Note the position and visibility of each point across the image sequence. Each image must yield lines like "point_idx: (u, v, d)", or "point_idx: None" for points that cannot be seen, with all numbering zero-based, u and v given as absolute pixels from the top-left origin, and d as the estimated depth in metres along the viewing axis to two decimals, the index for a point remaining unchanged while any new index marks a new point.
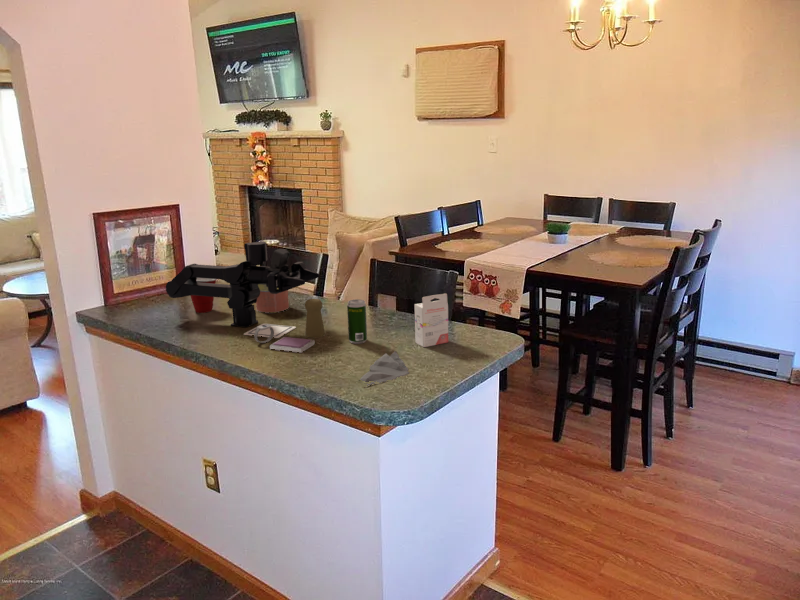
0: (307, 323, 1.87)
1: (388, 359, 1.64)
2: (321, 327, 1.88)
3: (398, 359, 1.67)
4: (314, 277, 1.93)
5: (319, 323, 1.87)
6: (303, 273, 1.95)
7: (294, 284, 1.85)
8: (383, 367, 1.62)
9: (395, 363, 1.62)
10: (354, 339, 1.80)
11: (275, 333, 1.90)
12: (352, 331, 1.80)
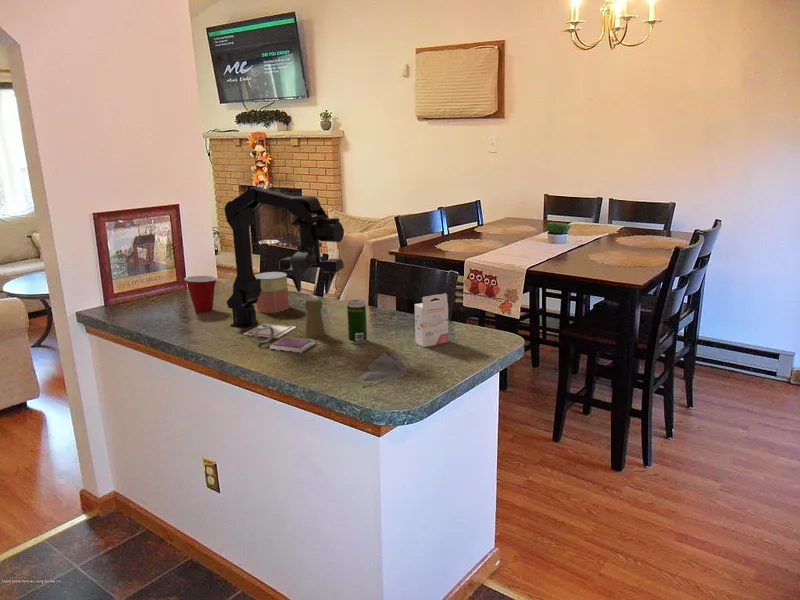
0: (307, 323, 1.87)
1: (387, 359, 1.64)
2: (321, 327, 1.88)
3: (397, 359, 1.67)
4: None
5: (319, 323, 1.87)
6: None
7: None
8: (382, 367, 1.62)
9: (394, 363, 1.62)
10: (354, 339, 1.80)
11: (275, 333, 1.90)
12: (352, 331, 1.80)
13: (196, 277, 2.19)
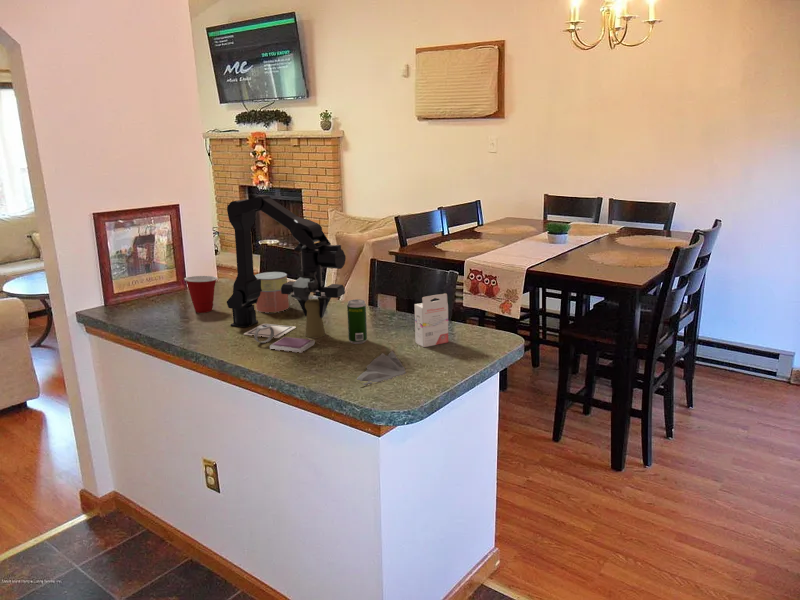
0: (307, 323, 1.87)
1: (385, 359, 1.65)
2: (321, 327, 1.88)
3: (395, 359, 1.67)
4: None
5: (319, 323, 1.87)
6: None
7: None
8: (380, 367, 1.62)
9: (392, 363, 1.62)
10: (354, 339, 1.80)
11: (275, 333, 1.90)
12: (352, 331, 1.80)
13: (196, 277, 2.19)
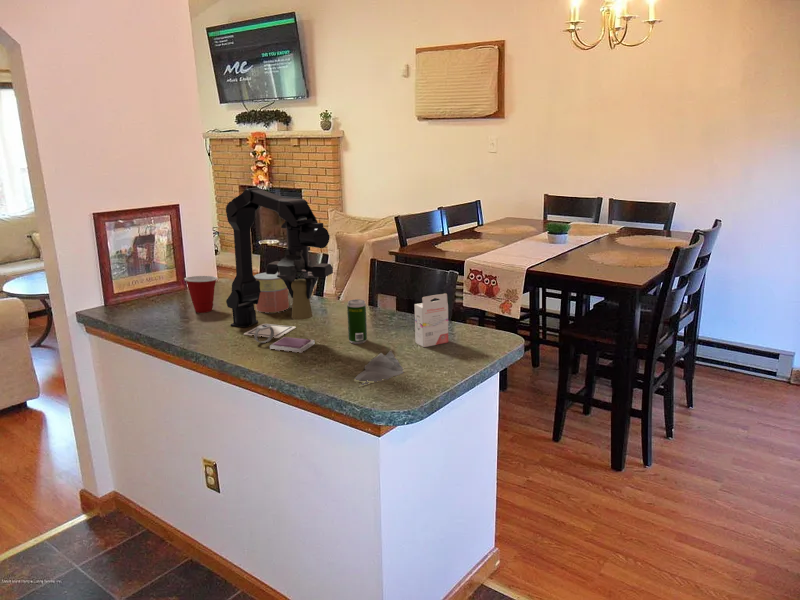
0: (294, 304, 1.79)
1: (383, 359, 1.65)
2: (308, 308, 1.80)
3: (393, 359, 1.67)
4: None
5: (306, 304, 1.79)
6: None
7: None
8: (378, 366, 1.62)
9: (390, 363, 1.62)
10: (354, 339, 1.80)
11: (275, 333, 1.90)
12: (352, 331, 1.80)
13: (196, 277, 2.19)
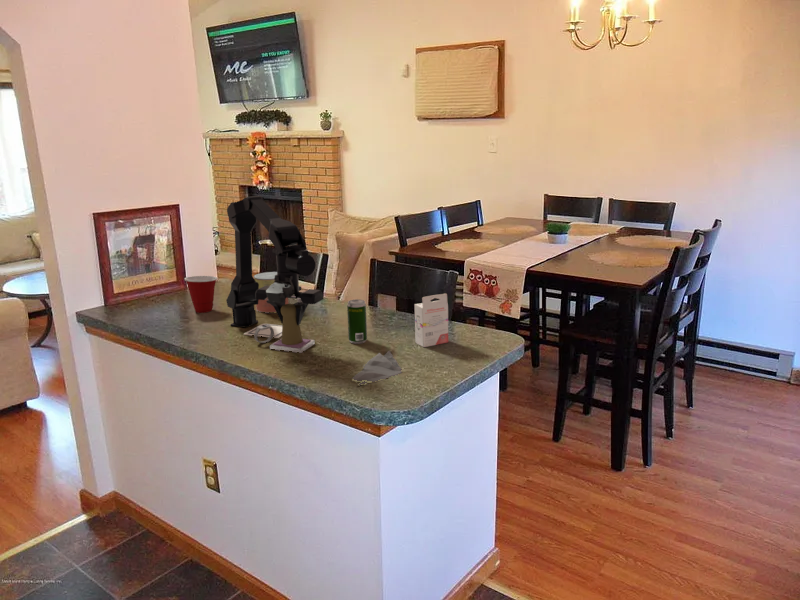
0: (283, 329, 1.76)
1: (381, 358, 1.65)
2: (298, 334, 1.77)
3: (392, 359, 1.67)
4: None
5: (296, 329, 1.76)
6: None
7: None
8: (376, 366, 1.62)
9: (388, 362, 1.62)
10: (354, 339, 1.80)
11: (275, 333, 1.90)
12: (352, 331, 1.80)
13: (196, 277, 2.19)
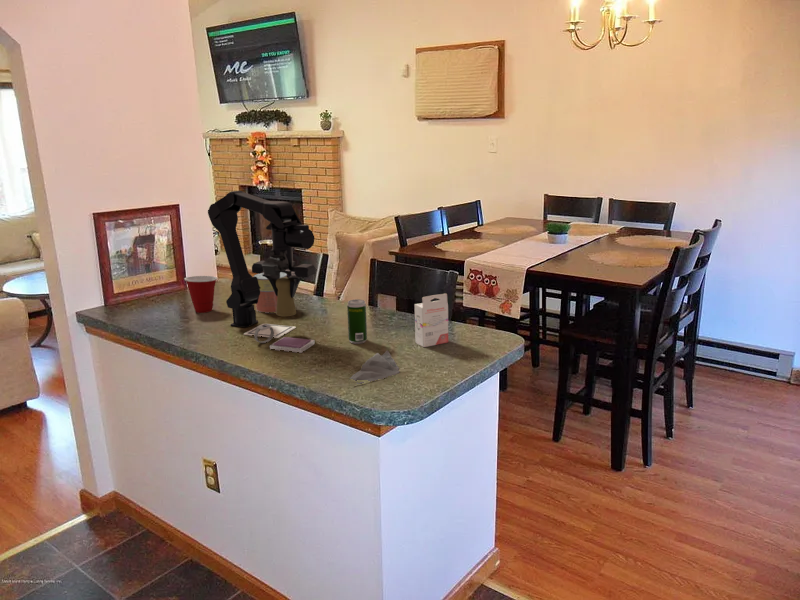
0: (278, 302, 1.87)
1: (379, 358, 1.65)
2: (292, 306, 1.88)
3: (390, 358, 1.67)
4: None
5: (290, 302, 1.87)
6: None
7: None
8: (374, 366, 1.62)
9: (386, 362, 1.62)
10: (354, 339, 1.80)
11: (275, 333, 1.90)
12: (352, 331, 1.80)
13: (196, 277, 2.19)
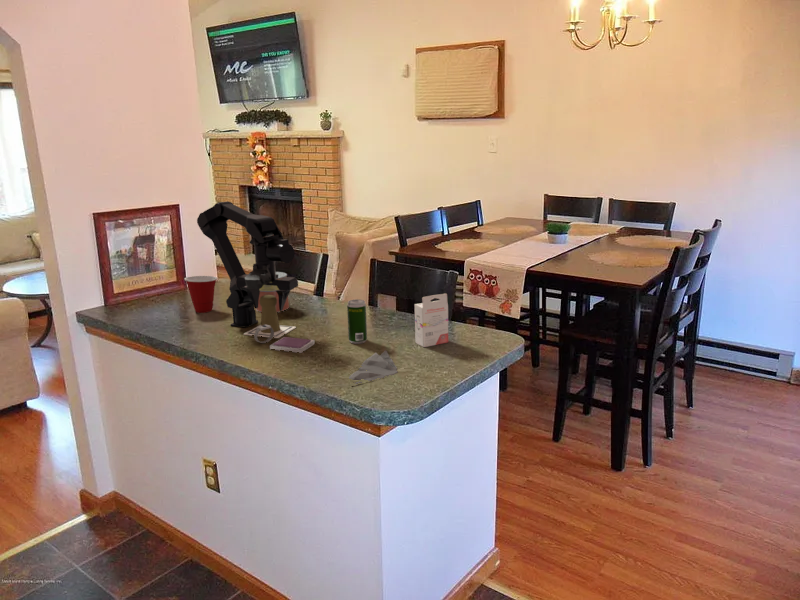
0: (262, 319, 1.91)
1: (377, 358, 1.65)
2: (276, 323, 1.92)
3: (388, 358, 1.68)
4: None
5: (273, 319, 1.91)
6: None
7: None
8: (372, 366, 1.62)
9: (384, 362, 1.62)
10: (354, 339, 1.80)
11: (275, 333, 1.90)
12: (352, 331, 1.80)
13: (196, 277, 2.19)
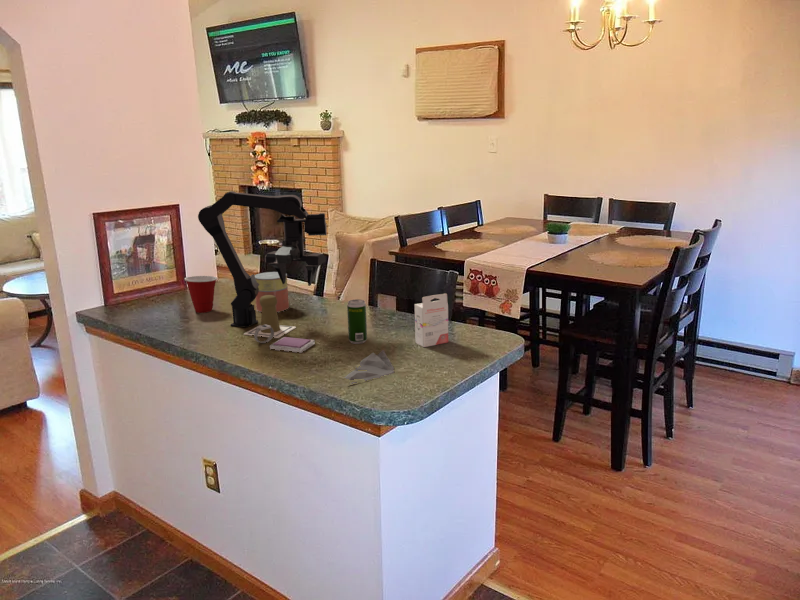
0: (262, 319, 1.91)
1: (375, 358, 1.65)
2: (276, 323, 1.92)
3: (385, 358, 1.68)
4: None
5: (274, 319, 1.91)
6: None
7: None
8: (369, 366, 1.63)
9: (381, 362, 1.62)
10: (354, 339, 1.80)
11: (275, 333, 1.90)
12: (352, 331, 1.80)
13: (196, 277, 2.19)
